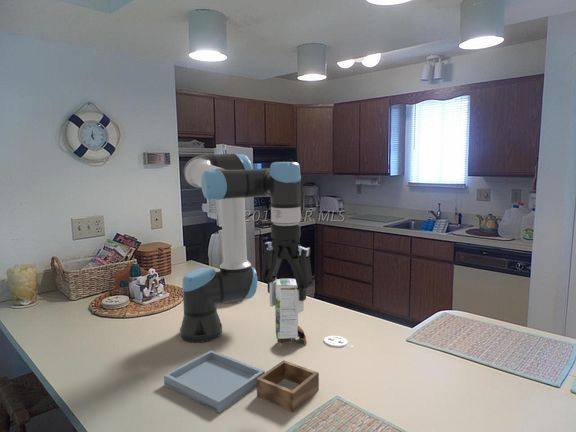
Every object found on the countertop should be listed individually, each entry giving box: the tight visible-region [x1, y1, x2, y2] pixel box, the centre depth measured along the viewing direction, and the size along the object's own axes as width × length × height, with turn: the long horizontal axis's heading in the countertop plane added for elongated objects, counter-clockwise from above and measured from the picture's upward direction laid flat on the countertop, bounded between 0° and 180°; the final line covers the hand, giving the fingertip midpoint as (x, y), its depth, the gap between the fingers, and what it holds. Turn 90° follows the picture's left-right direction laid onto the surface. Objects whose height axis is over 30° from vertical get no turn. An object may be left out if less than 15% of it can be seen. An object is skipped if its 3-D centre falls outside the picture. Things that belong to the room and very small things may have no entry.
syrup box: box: [274, 278, 299, 339], centre depth 106 cm, size 6×6×14 cm
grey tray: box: [163, 349, 266, 414], centre depth 114 cm, size 22×18×3 cm
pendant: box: [323, 335, 355, 348], centre depth 138 cm, size 7×11×1 cm, turn 56°
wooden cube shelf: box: [256, 359, 320, 413], centre depth 109 cm, size 12×12×5 cm
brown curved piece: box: [276, 325, 307, 346], centre depth 139 cm, size 12×10×8 cm
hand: (286, 308), depth 106 cm, fingers closed on syrup box, 8 cm apart
